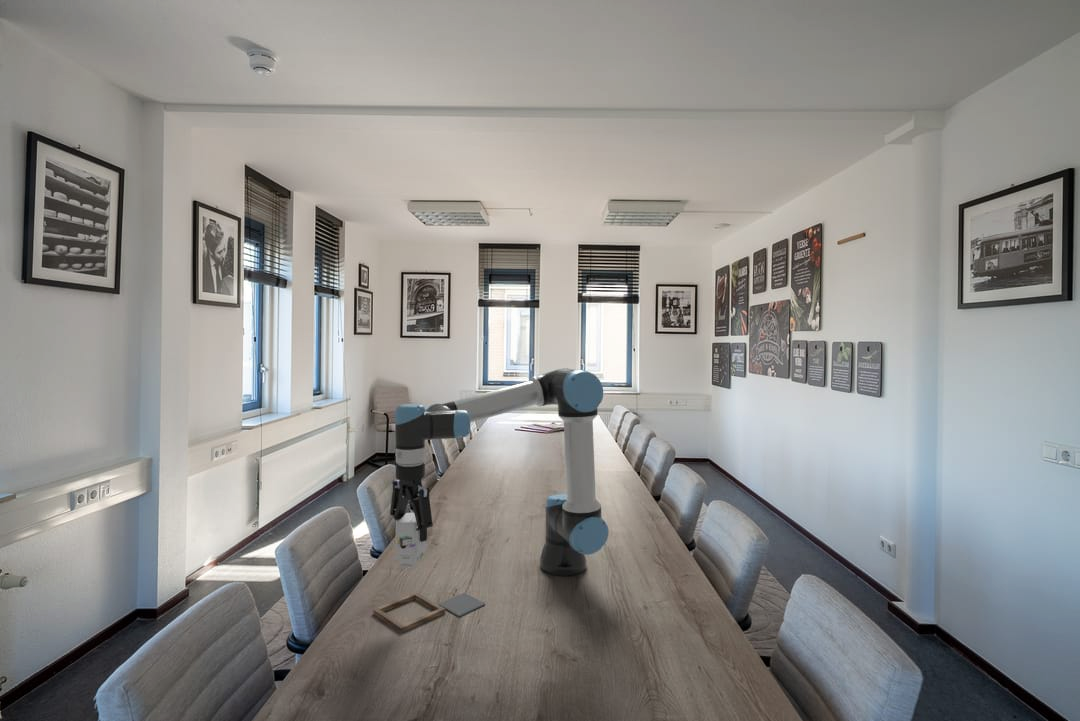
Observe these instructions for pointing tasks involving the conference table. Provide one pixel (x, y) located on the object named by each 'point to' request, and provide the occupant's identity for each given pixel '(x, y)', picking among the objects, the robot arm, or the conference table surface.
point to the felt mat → (461, 604)
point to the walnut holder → (404, 627)
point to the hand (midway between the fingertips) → (410, 547)
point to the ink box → (407, 541)
